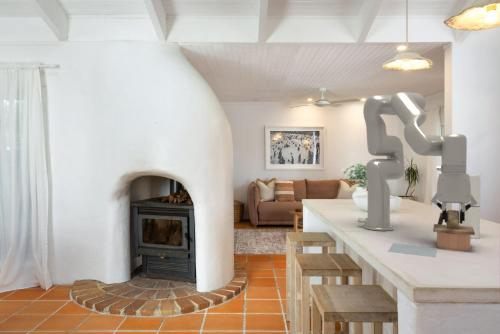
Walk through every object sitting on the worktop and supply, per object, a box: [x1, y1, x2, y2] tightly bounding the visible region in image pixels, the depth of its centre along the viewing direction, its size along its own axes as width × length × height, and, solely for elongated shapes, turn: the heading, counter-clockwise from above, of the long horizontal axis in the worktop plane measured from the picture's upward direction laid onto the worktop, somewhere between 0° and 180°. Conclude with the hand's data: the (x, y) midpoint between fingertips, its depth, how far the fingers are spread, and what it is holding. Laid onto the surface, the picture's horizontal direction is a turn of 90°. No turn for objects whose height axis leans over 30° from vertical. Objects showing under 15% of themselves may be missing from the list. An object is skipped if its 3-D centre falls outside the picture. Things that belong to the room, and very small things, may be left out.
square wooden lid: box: [432, 209, 475, 235], centre depth 122 cm, size 12×12×7 cm
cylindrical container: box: [458, 174, 481, 239], centre depth 142 cm, size 7×7×25 cm
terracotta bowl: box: [436, 232, 471, 252], centre depth 122 cm, size 10×10×6 cm
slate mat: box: [387, 242, 438, 258], centre depth 119 cm, size 14×14×1 cm
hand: (453, 221), depth 122 cm, fingers open, 4 cm apart
